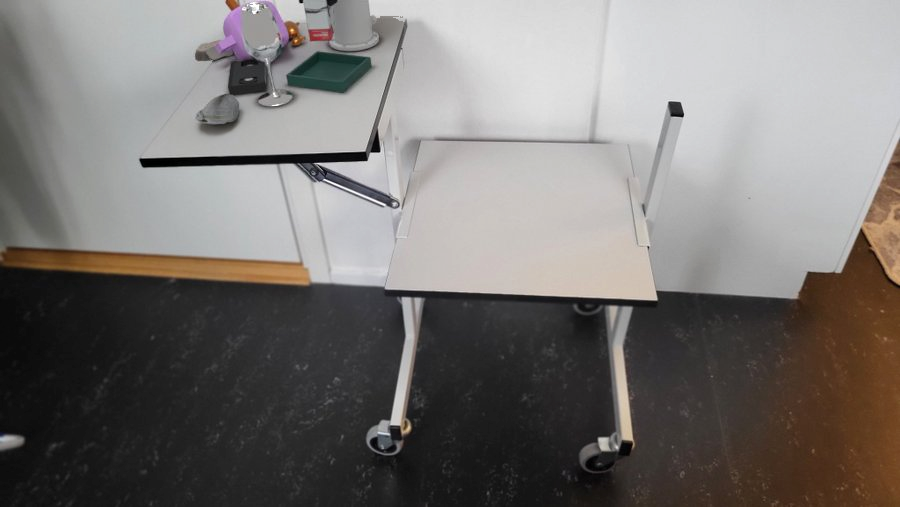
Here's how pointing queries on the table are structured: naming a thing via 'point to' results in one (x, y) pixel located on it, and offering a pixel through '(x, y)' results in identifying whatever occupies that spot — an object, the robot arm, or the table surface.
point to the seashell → (219, 110)
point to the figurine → (294, 32)
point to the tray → (329, 71)
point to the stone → (210, 52)
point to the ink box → (319, 20)
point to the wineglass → (263, 45)
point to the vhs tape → (247, 76)
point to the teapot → (235, 32)
